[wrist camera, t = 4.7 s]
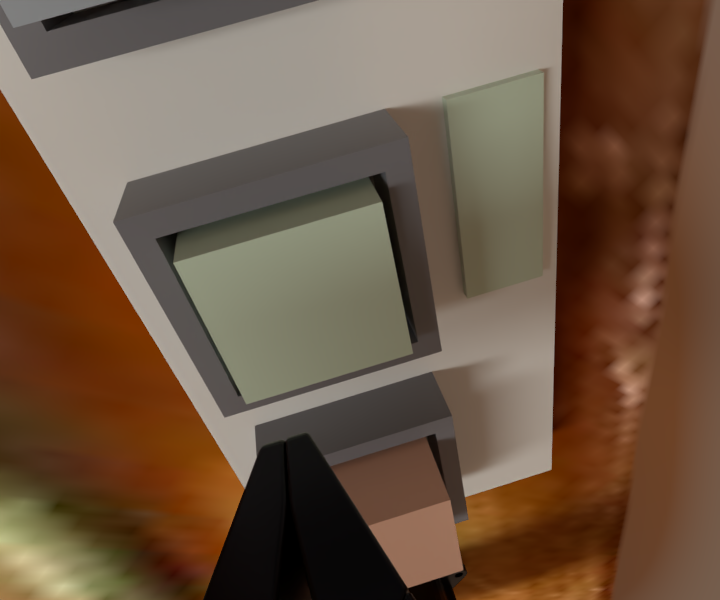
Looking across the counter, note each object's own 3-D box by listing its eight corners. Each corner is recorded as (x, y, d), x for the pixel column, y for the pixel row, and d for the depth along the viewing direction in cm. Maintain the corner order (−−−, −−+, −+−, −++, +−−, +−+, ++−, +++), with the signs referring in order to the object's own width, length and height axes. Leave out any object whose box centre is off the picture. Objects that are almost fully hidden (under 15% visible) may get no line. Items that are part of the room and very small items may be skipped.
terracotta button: (439, 504, 20) (463, 570, 18) (326, 540, 20) (338, 610, 18) (424, 432, 17) (450, 499, 15) (293, 473, 17) (302, 546, 15)
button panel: (530, 433, 25) (575, 510, 21) (280, 512, 24) (289, 602, 21) (509, -770, 8) (716, -1260, 4) (-338, -583, 7) (-789, -982, 4)
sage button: (388, 297, 16) (412, 353, 14) (243, 341, 15) (246, 404, 13) (357, 157, 13) (382, 201, 11) (180, 208, 13) (173, 263, 11)
